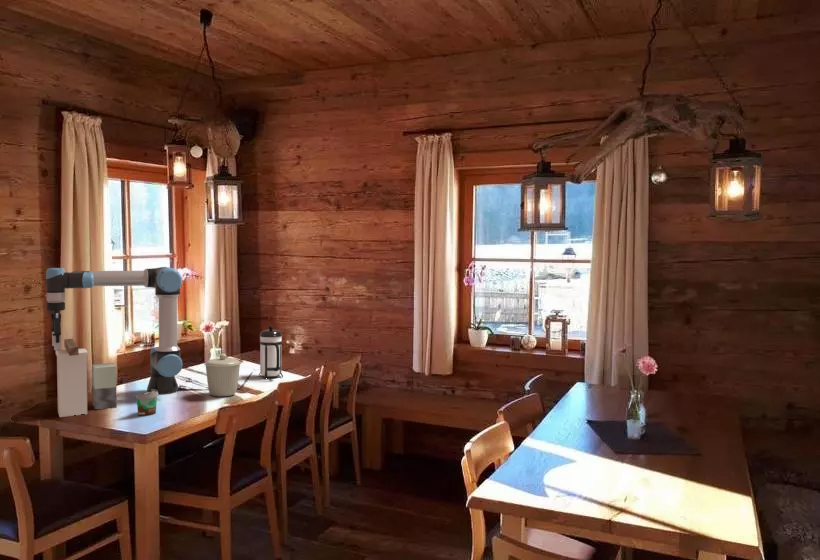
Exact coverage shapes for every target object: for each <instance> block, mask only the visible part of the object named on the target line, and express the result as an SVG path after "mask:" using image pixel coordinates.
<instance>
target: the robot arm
mask: <svg viewBox="0 0 820 560" xmlns="http://www.w3.org/2000/svg"><path fill="white" fill-rule="evenodd" d="M45 282H46V283H45V285H46V286H45V287H46V294H45V295H44V296H45V298H46V301H47V302H46V311H49V312H51V314H50V318H51V319H50V321H51V345H52V347H53V350H54V351H56V350H62V328H61V323H62V313H60V311H62V312H63V311H65V310H66V302H65V301H66V289H84V290H85V289H91V288H94V287H134V286H135V287H137V286H138V287H139V286H140V287H142V286H143V287H145V288H153V289H154V291H155V296H156V298H158V346H157V347H152V348H151V349H150V353H149V355H150V356H149V357H150V360H149V361H150V378H149V381H148V385H147V387H146V392H150V391H151V389H155V390H157V391H158V394H159V395H166V394H168V395H169V394H173V392H174V393H176V391H177V390H178V391H179V385H178V382H177V379H176V376H177V375H178V374H179V373H180V372H181V371H182V370H183V360H182V358H181V348H180V347H179V346H178V297H179V296H180V295H181V286H182V283H183V277H182V274H181V273H180V272H179V271H178V270H177V269H175V268H172V267H167V266H161V267H156V268H155V267H154V268H145V269H143V270H73V271H71V272H69V271H68V272H67V271H65V268H64V267H62V268H61V267H51V268H49V267H48V268H47V269H46V274H45ZM178 391H177V392H178Z"/></svg>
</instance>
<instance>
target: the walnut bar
mask: <svg viewBox="0 0 820 560" xmlns="http://www.w3.org/2000/svg"><path fill="white" fill-rule="evenodd" d="M63 340H64V341H63V342H64V344H63V345H64V350H67V352H68V354H69V356H72V355H79V350H78V349H79V346H78V345H77V343H76V341H75V340H74V339H73V338H63Z"/></svg>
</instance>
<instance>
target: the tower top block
mask: <svg viewBox="0 0 820 560" xmlns="http://www.w3.org/2000/svg"><path fill="white" fill-rule="evenodd" d="M91 366H92V375H91V376H92V387H93V386H94V388H95V389H101V388H112V387H116V388H117V365H116V364H115V363H114V362H105V363H97V364H94V363H93V364H92V365H91Z"/></svg>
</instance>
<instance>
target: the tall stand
mask: <svg viewBox="0 0 820 560" xmlns="http://www.w3.org/2000/svg"><path fill="white" fill-rule="evenodd" d="M78 350H79V355H72V356H69V354H68V352H67V350H66V349H61V350H55V356H56V377H57V378H56V380H57V383H56V384H57V390H56V391H57V414H58V416H59V418H65V417H74V415H76V416H82V415H81V414H85V415H88V376H87V375H88V369H87V366H88V365H87V364H88V363H87V362H88V361H87V360H88V359H87V356H89V352H88V350H87V349H86V348H78Z"/></svg>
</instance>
